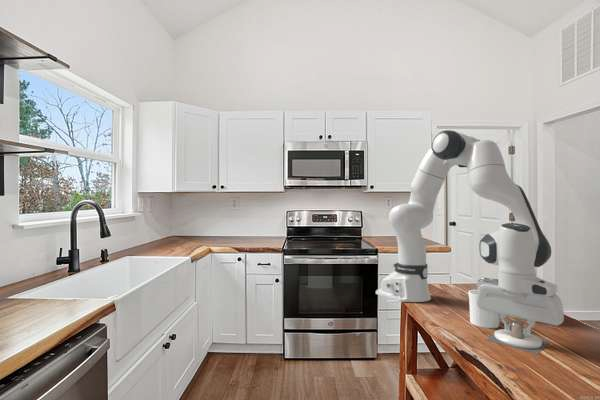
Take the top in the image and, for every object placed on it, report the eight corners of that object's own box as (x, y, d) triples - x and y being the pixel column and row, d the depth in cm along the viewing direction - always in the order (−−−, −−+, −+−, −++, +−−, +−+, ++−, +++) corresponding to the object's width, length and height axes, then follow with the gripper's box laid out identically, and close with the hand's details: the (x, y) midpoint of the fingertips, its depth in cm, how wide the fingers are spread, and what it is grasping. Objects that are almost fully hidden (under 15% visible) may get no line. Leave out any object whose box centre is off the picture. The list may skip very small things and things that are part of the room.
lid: (488, 339, 92) (488, 321, 92) (501, 329, 99) (501, 313, 99) (536, 352, 84) (535, 333, 84) (546, 340, 91) (546, 322, 91)
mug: (507, 329, 101) (507, 296, 101) (483, 332, 99) (482, 298, 99) (481, 318, 112) (480, 287, 112) (458, 320, 110) (457, 289, 110)
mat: (486, 342, 92) (486, 339, 92) (500, 331, 100) (500, 328, 100) (537, 357, 83) (537, 354, 83) (549, 343, 91) (549, 340, 91)
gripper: (472, 277, 97) (473, 325, 97) (559, 291, 82) (560, 347, 82) (480, 274, 101) (481, 320, 101) (564, 287, 86) (565, 340, 86)
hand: (517, 332), depth 91 cm, fingers closed on lid, 3 cm apart
